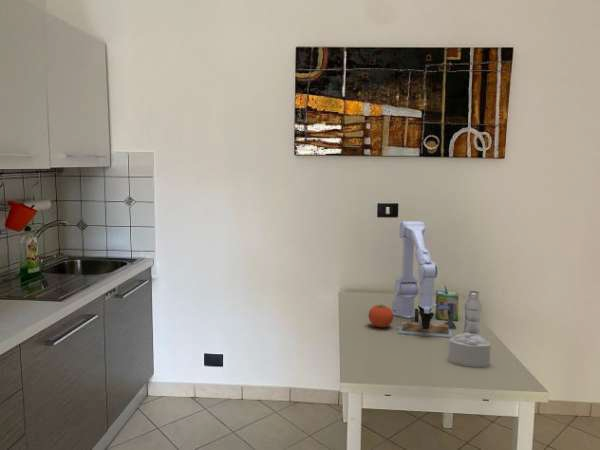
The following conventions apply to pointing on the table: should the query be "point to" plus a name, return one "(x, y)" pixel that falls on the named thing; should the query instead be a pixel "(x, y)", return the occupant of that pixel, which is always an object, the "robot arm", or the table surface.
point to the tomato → (380, 315)
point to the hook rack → (449, 323)
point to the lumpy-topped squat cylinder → (469, 350)
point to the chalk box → (446, 304)
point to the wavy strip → (432, 329)
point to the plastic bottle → (472, 314)
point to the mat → (424, 333)
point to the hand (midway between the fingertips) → (424, 325)
